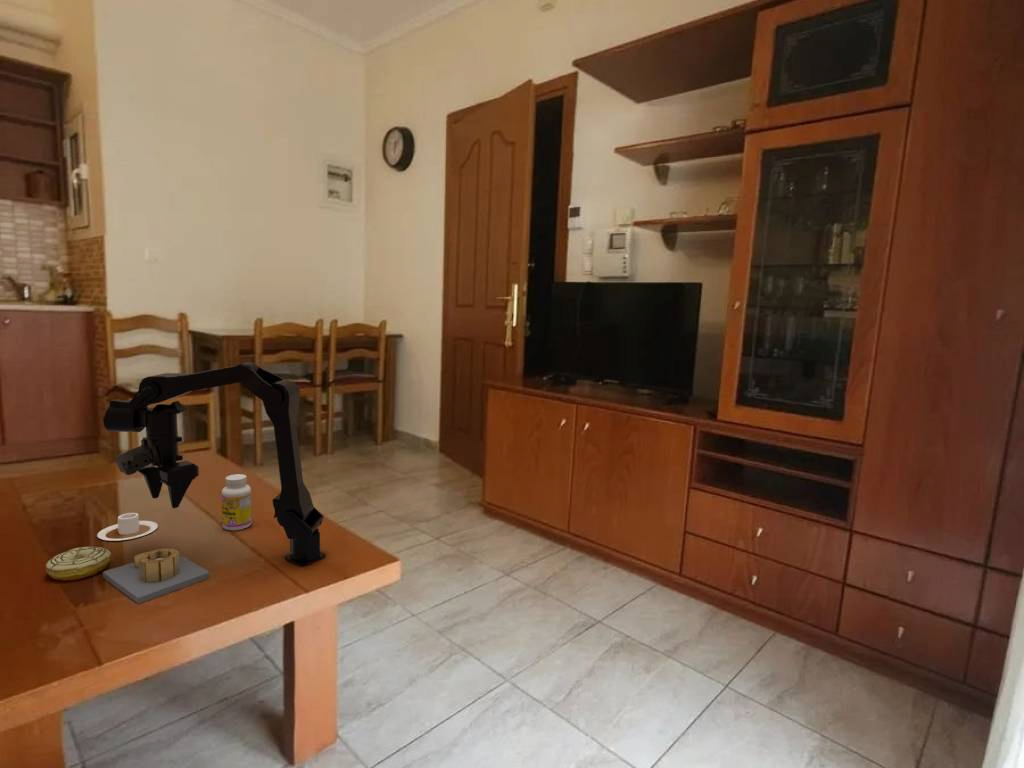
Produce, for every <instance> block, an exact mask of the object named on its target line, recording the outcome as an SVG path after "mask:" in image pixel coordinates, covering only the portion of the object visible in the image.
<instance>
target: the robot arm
mask: <svg viewBox="0 0 1024 768" xmlns="http://www.w3.org/2000/svg"><path fill="white" fill-rule="evenodd" d="M232 384H242V385H243V386H245V388H247V390H248V391H249V392H250V393H251V394H253V395H254V396H255V397H257V398H258V399H259V400H261V402H262V406H263V407H264V411H265V413H266V415H267V417H268V418H269V420H270V422H271V423H272V426H273V432H274V439H275V440H274V441H275V447H276V448H275V449H276V456H277V463H278V464H277V465H278V472H279V481H280V488H281V489H280V493H278V494H277V495H276V496H275V497H274V498H273V499H272V506H273V509H274V516H273V519H277V523H278V525H279V526H280V527H282V528H283V530H284V533H285V534H286V537H287V540H289V542H290V545H289V546H290V547H289V548H290V549H289V551H290V553H289V554H286V555H284V559H285V560H287V561H289V562H291V563H293V564H295V565H297V566H299V567H305V566H307V565H310V564H311V563H314V562H316V561H318V560H322V559H324V558H326V557H327V554H326V553H324V552H323V551H322V552H321V532H319V531H320V529H319V527H320V526H322V524H323V520H324V517H325V516H324V515H323V513H321V512H320V511H319V510H318V509H317V508H316V507H315V506H314V503H313V500H312V497H311V493H310V491H309V490H308V488H307V486H306V485H305V483H304V478H303V468H302V461H301V453H300V445H299V437H298V436H299V435H298V427H297V418H298V413H299V409H300V398H301V390H300V387H299V385H298V384H297V383H295V382H294V381H292V380H289V379H284V378H282V377H280V376H279V375H277V374H276V373H274V372H271V371H268V370H266V369H264V368H262V367H261V366H259V365H257V364H256V363H255V362H252V361H251V362H250V361H249V362H243V363H239V364H236V365H233V366H227V367H222V368H216V369H211V370H204V371H201V372H195V373H183V372H178V373H177V372H173V373H171V372H169V373H168V372H166V373H160V374H156V375H151V376H146V377H144V378H142V379H141V381H140V383H139V385H138V391H137V392H136V393H135V394H134V396H133V397H132V398H131V400H124V399H119V398H118V399H113V400H110V401H109V407H107V409H106V411H105V413H104V417H103V419H102V421H103V425H104V428H105V429H106V430H107V431H109V432H118V433H119V432H121V433H123V432H124V433H125V432H127V433H140V432H142V431H144V429H145V435H146V436H145V437H142V439H140V443H141V444H140V446H137V447H135V448H132V449H129V450H128V451H125V452H123V453H122V454H120V455H117V456H116V457H114V459H113V460H114V462H115V463H116V466H117V467H118V469H119V472H120V473H123V474H125V475H126V476H130V475H131V476H132V475H134V474H135V473H137V472H138V473H139V474H141V475H142V476H143V477H144V480H145V482H146V485H147V489H148V491H149V493H150V496H151V498H152V499H158V498H159V497H160V493H161V491H162V487H163V485H165V486H167V490H168V495H169V500H170V505H171V508H172V509H177V508H179V507H180V505H181V503H182V500H183V498H184V497H185V494H186V492H187V490H188V489H189V487H190V486H191V484H192V482H193V480H196V477H199V476H200V467H199V466H198V465H197V464H195V463H194V462H191V461H188V460H184V459H183V458H184V457H183V455H182V454H180V453H179V452H180V451H179V443H182V442H183V437H182V436H180V435H179V434H178V433H179V431H178V414H181V413H184V412H188V407H187V406H185V405H184V404H182V403H181V402H180V401H179V400H176V401H172V402H171V403H170V404H169V403H167V404H166V403H162V402H167V401H169V400H172V399H176V398H179V397H181V396H184V395H186V394H189V393H191V392H195V391H200V390H201V391H202V390H207V389H211V388H217V387H223V386H227V385H228V386H229V385H232ZM151 405H155V406H154V407H148V406H151Z"/></svg>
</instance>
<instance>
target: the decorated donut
mask: <svg viewBox="0 0 1024 768" xmlns="http://www.w3.org/2000/svg"><path fill="white" fill-rule="evenodd" d="M111 557H112V552H111V551H110V550H108V549H107V548H105V547H101V546H81V547H80V546H79V547H75V548H71V549H69V550H66V551H64V552H62V553H58V554H56V555H54V556H53V557H52V558H50V560H48V561H47V563H46V564H45V571H46V573H47V574H48V576H49V577H51V578H52V579H54V580H56V581H57V580H58V581H61V580H62V581H63V582H64V581H75V580H81V579H86V578H89V577H91V576H94V575H97V574H98V573H100V572H102V571H103V570H104V569H105V568H106V567H107V566H109V564H110V562H111Z"/></svg>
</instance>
